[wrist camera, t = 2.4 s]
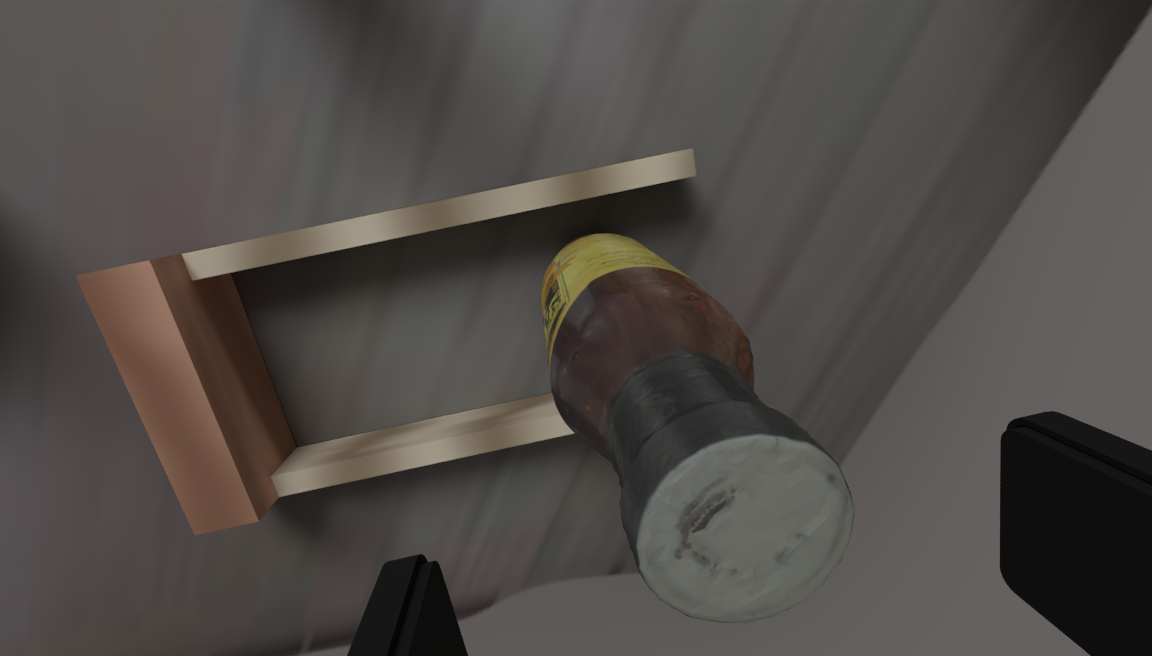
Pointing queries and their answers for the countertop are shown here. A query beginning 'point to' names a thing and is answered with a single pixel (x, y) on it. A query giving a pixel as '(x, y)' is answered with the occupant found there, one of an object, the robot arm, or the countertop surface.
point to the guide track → (241, 380)
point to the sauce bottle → (689, 436)
